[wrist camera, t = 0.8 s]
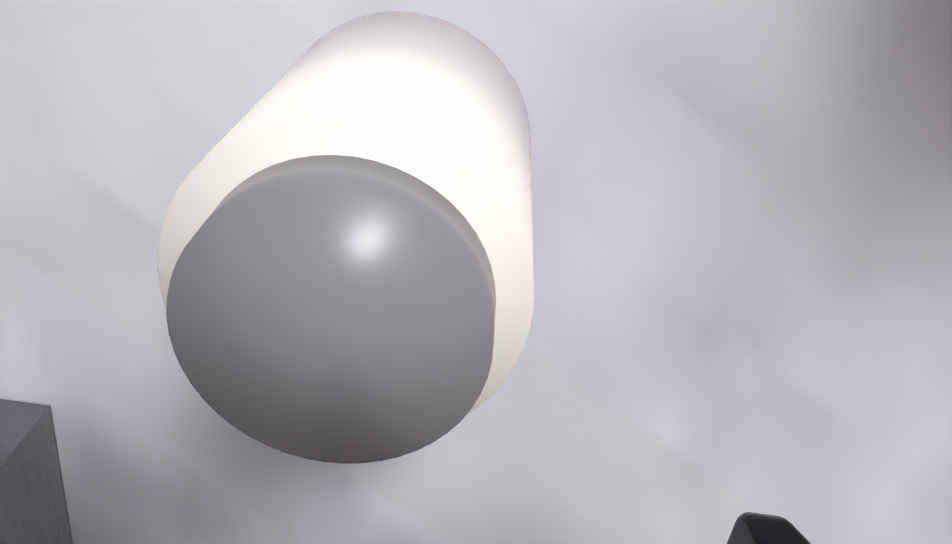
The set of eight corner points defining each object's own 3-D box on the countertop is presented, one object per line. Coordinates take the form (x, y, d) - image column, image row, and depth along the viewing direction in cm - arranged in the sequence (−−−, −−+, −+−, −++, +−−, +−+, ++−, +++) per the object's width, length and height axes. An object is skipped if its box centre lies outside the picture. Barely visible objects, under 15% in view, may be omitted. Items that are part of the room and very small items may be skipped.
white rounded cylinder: (510, 268, 17) (502, 513, 11) (277, 236, 17) (139, 464, 11) (551, 32, 15) (570, 179, 9) (280, -7, 15) (106, 113, 9)
